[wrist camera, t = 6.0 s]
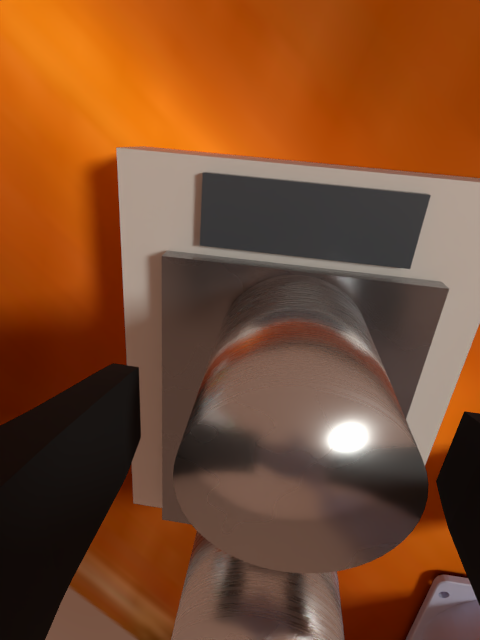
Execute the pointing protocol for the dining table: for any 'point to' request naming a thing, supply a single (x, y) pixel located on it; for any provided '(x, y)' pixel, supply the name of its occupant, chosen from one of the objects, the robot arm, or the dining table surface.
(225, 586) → the cylinder
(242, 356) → the cylinder
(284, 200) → the scale
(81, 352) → the dining table surface
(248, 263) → the grey metal plate
